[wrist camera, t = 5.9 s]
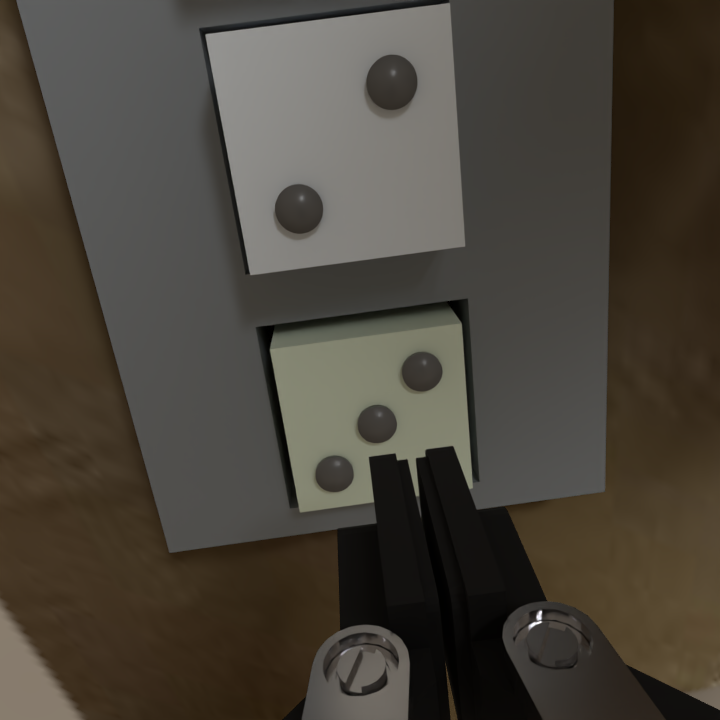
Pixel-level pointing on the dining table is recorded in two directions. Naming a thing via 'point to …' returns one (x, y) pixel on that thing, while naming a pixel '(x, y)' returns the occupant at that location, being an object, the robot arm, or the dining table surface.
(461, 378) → the tile three
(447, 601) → the robot arm
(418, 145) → the tile two
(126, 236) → the board
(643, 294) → the dining table surface
